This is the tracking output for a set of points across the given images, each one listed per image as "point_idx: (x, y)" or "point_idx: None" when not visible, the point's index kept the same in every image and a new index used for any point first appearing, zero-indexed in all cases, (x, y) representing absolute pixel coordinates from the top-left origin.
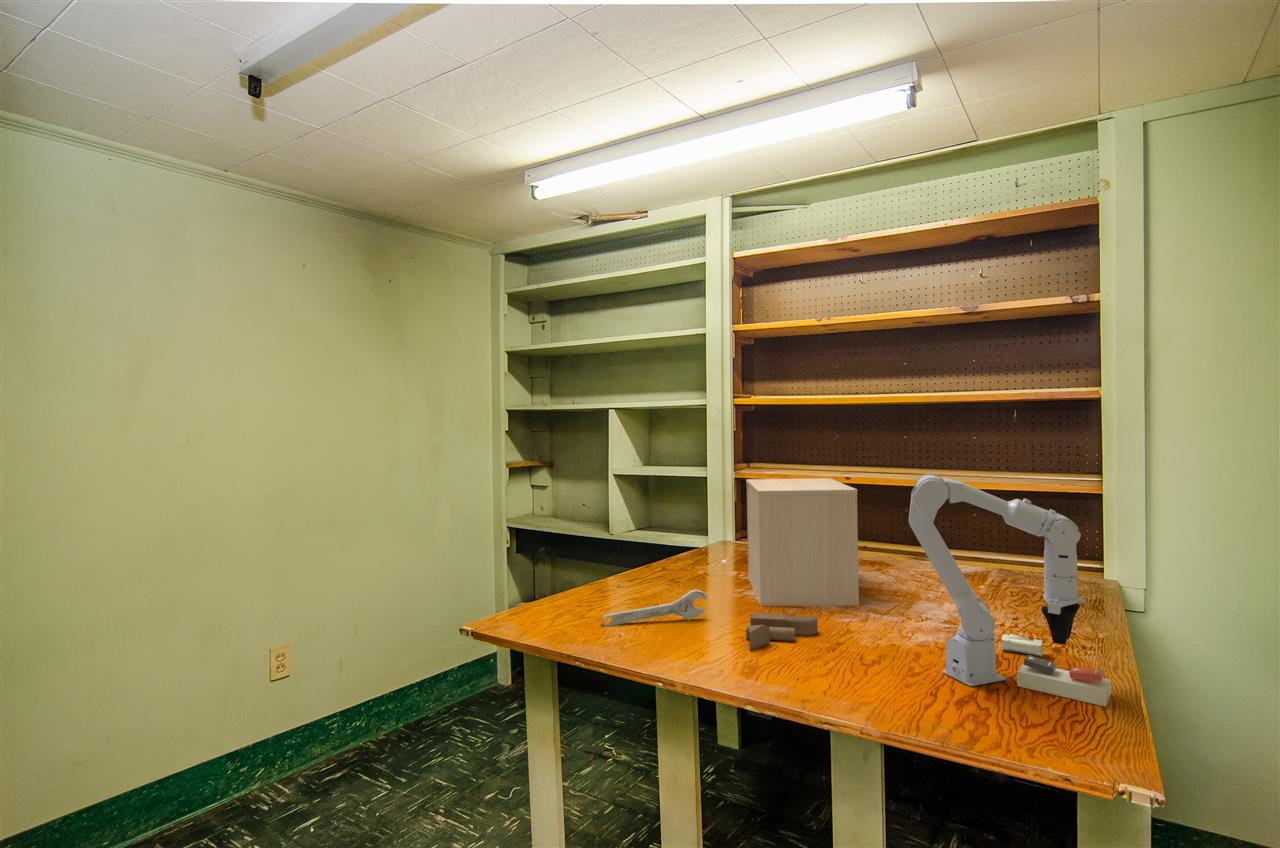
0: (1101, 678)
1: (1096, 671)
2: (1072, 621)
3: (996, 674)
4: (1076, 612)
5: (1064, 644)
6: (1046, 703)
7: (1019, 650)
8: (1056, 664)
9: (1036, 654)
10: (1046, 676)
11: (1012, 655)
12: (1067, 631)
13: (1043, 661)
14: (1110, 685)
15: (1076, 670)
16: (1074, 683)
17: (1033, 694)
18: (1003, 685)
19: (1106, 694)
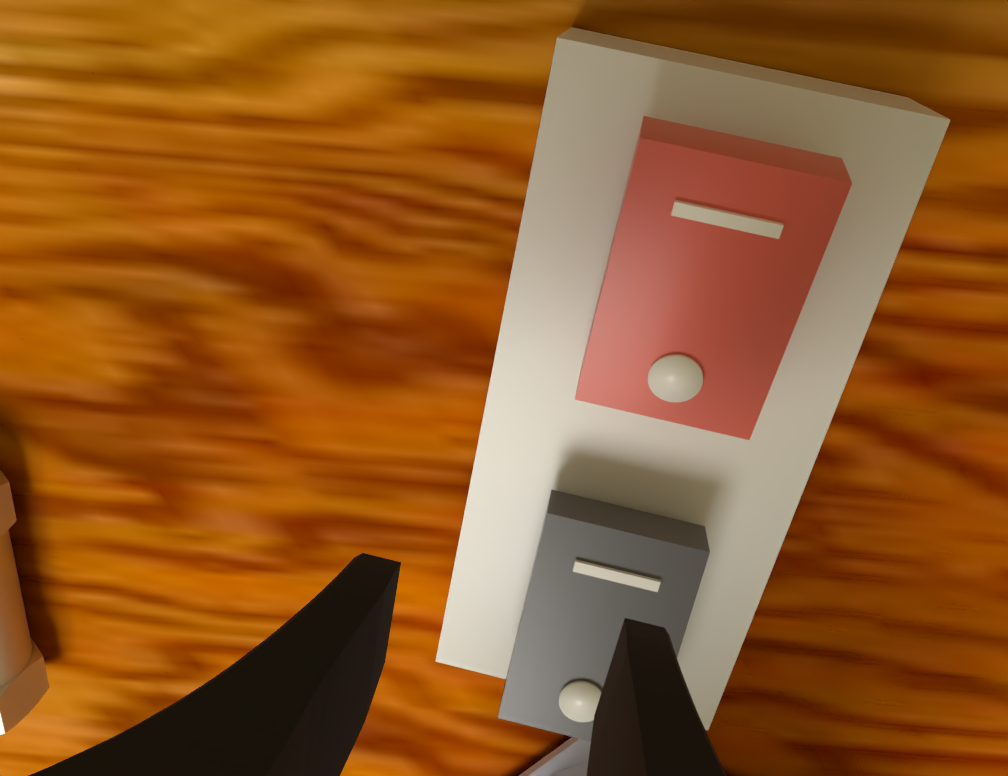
0: (825, 163)
1: (725, 212)
2: (300, 717)
3: (588, 753)
4: (90, 773)
5: (666, 634)
6: (985, 510)
7: (20, 600)
8: (559, 514)
9: (10, 502)
10: (734, 559)
11: (89, 620)
12: (724, 772)
13: (576, 615)
14: (591, 39)
15: (700, 381)
16: (830, 374)
17: (826, 570)
18: (725, 714)
19: (886, 102)
